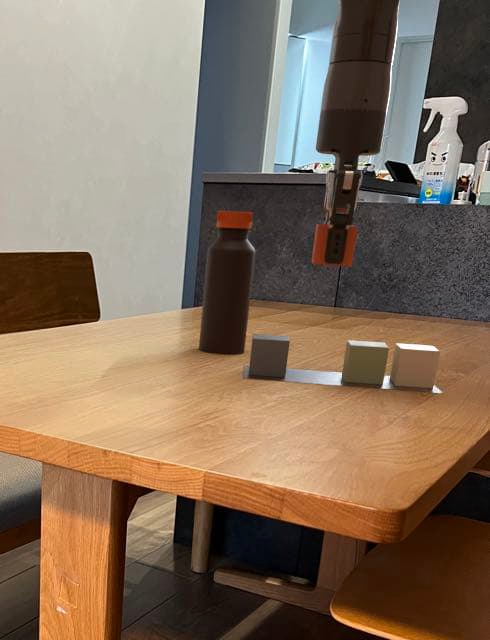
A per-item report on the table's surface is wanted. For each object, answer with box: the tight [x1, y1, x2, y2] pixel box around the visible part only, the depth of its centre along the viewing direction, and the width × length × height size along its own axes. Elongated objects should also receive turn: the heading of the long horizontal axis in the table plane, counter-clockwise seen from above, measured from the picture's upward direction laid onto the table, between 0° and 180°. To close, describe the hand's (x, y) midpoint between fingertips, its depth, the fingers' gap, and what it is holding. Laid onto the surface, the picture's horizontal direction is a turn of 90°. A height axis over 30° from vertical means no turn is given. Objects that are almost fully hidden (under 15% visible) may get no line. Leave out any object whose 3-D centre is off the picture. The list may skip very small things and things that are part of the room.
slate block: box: [248, 333, 291, 378], centre depth 110 cm, size 5×5×5 cm
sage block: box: [342, 339, 390, 385], centre depth 109 cm, size 5×5×5 cm
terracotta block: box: [311, 223, 359, 267], centre depth 106 cm, size 5×5×5 cm
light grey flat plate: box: [242, 365, 444, 395], centre depth 110 cm, size 24×10×1 cm, turn 79°
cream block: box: [389, 342, 441, 389], centre depth 108 cm, size 5×5×5 cm
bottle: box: [198, 210, 256, 356], centre depth 125 cm, size 7×7×20 cm
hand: (331, 261), depth 106 cm, fingers closed on terracotta block, 4 cm apart
